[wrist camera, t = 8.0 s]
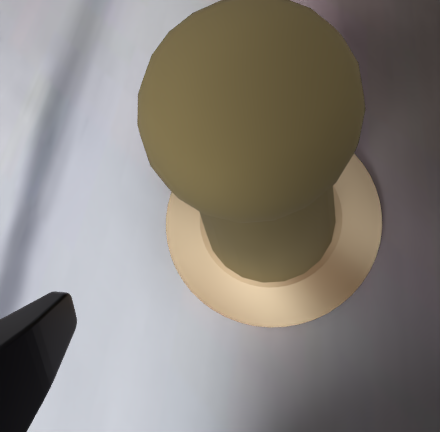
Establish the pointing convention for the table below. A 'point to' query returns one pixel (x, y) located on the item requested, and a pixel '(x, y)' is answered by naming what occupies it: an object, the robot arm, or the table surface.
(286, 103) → the pepper shaker
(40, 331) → the robot arm
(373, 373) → the table surface
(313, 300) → the trivet
